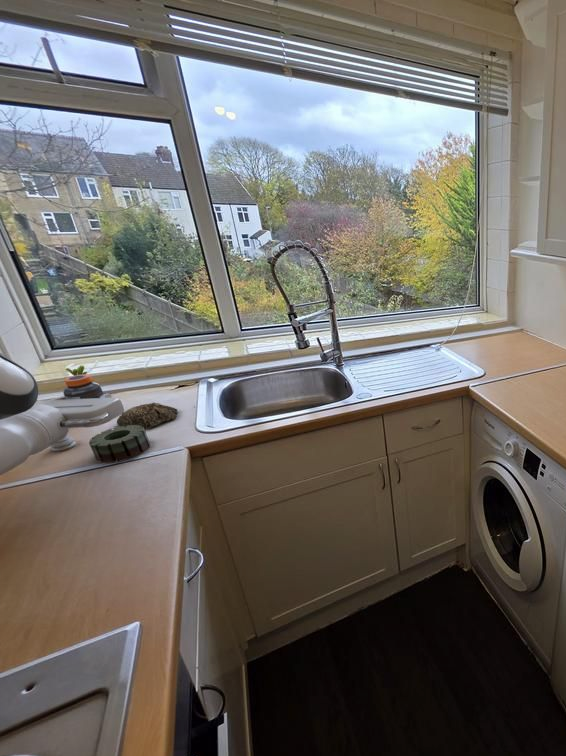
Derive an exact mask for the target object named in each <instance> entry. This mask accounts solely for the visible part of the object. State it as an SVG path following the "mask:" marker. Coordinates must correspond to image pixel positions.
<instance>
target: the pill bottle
mask: <svg viewBox="0 0 566 756" xmlns="http://www.w3.org/2000/svg"><path fill="white" fill-rule="evenodd" d="M91 378H92V377H91V375H90V374H88V373H86V374H83V375H76V376H74V375H72V376H68V377H66V378H64V382H65V385H66V388H65V389H64V390H63V395H64V396H65V398H66V400H68V399H92V398H97V396H98V395H101V394H105V393H104V391H103V389H102V386H101V384H99V383H97V382H95V383H94V382H92V379H91ZM109 422H110V421H108V422H106V423H104V424H101V425H98V426H102V425H105V424H107V423H109ZM98 426H97V427H98ZM92 428H95V426H93V427H92Z"/></svg>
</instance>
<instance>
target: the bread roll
mask: <svg viewBox="0 0 566 756" xmlns="http://www.w3.org/2000/svg"><path fill="white" fill-rule="evenodd" d="M178 412H179V410H178V408H175V407H172V406H168V405H164V404H161V403H159V402H150V403H145V404H140V405H136V406H133V407H131V408H129V409H127V410H126V411H125V410H124V413H122V414H121V415H119V416H118V418H117V420H116V424H117V426H118V427H121V426H124V427H126V426H127V425H136V426H137V425H139V426H142V427H143V428H144V429H151V428H153V427H155V426H157V425H159V424H161V423H164V422H170V421H171V422H172V421H173V420H175V419H176V418H177V414H178Z"/></svg>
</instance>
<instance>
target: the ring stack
mask: <svg viewBox="0 0 566 756" xmlns="http://www.w3.org/2000/svg"><path fill="white" fill-rule="evenodd" d="M88 445H89V446H90V449H91V451H92V453H93V455H94V458H95V460H96V461H97V462H99V463H104V464H108V463H109V464H111V463H115V462H117V463H118V462H122V461H125V460H129V458H131V459H133V458H135V457H138V456H139V455H141V454H142V453H145V452H146V451H147V450H148V449H150V447H151V442H150V439H149V437H148V434H147V432H146V428H143V427H142V426H139V425H137V426H136V425H127V426H126V427H124V426H117V427H113V429H111V428H110V429H106V430H104V431H101V432H100V433H96V434H95V435H94V436H92V437H91V438H90V439H89V441H88Z"/></svg>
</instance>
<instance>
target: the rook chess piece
mask: <svg viewBox="0 0 566 756" xmlns="http://www.w3.org/2000/svg"><path fill="white" fill-rule="evenodd" d="M76 444H77V441H75V439H74V437H72V436H70V435H68V433H67V434H66V436H65V437H64V438H62V439H61V440H59V441H57V442H56V443H54V444H52V445H51V446H49V447H50V450H51V451H53V452H62V451H66V450H70V449H72V448H74V447H75V446H76Z"/></svg>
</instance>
